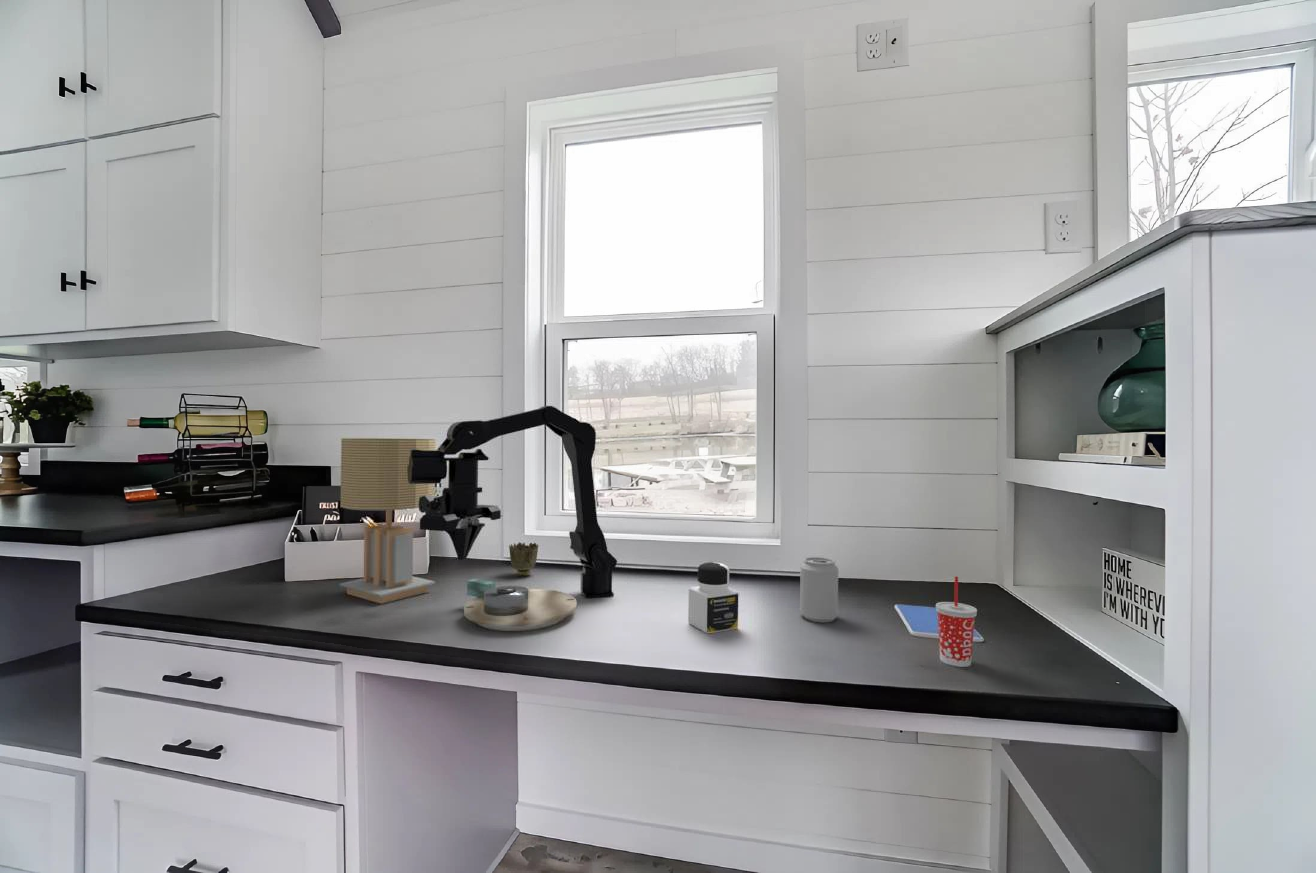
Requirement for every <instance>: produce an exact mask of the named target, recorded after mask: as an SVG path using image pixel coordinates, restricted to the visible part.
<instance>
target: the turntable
mask: <svg viewBox="0 0 1316 873" xmlns="http://www.w3.org/2000/svg"><path fill="white" fill-rule="evenodd" d="M466 582H467V583H466V596H469V597H470V596H471V597H475V598H473V599H470V600H469V601H468V602H466V603H465V604H464V607H463V614H464V617H465V618H467V620H469V621H471V622H474V623H475V624H477V623H480V624H485V625H492V626H529V625H537V624H543V623H548V622H552V621H556V620H559V619H562V618H564V619H566V618H567V617H569V616H570V615H571V614H573V613H575V611H576V610H577V603H578V602H577V599H576V598H575V597H574V596H573V595H571V594H569V593H566V592H562V591H557V590H555V589H554V590H552V589H546V588H545V589H543V588H527V589H528V610H527V611H525V612H523V613H520V614H516V615H510V616H493V615H488V614H486V613H484V592H485V591H486V590H488V589H490V588H494V587H496V582H494V581H490V580H483V579H479V578H472V579H469V580H467V581H466Z"/></svg>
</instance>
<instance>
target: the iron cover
mask: <svg viewBox="0 0 1316 873" xmlns="http://www.w3.org/2000/svg"><path fill="white" fill-rule="evenodd" d="M528 589H529V588H527V587H525V586H519V585H503V586H502V585H501V586H495V587H494V588H490V589H488V590H486V591H485V592H484V613H486V614H488V615H493V616H510V615H516V614H520V613H523V612H525V611H527V610H528Z"/></svg>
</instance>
